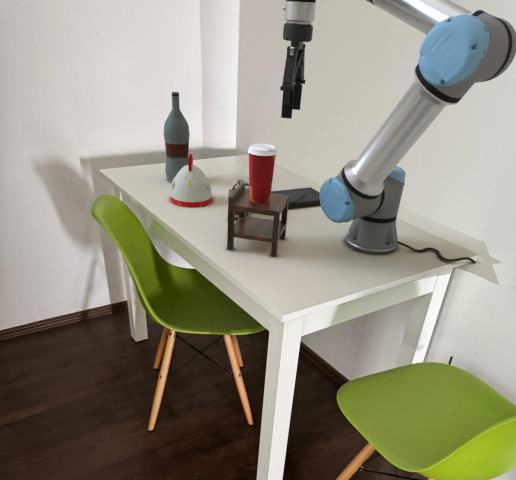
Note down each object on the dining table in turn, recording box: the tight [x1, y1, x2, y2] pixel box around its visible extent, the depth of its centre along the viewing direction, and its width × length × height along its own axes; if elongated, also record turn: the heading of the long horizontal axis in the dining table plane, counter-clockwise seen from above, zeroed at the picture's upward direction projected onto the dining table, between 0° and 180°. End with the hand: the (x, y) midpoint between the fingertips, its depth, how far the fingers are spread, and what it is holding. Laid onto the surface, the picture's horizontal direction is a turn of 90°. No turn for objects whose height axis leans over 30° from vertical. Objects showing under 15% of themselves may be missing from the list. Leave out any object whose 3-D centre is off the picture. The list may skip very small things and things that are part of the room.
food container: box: [227, 178, 249, 221], centre depth 161 cm, size 12×6×10 cm, turn 168°
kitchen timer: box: [170, 153, 213, 208], centre depth 170 cm, size 14×14×15 cm
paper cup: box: [247, 143, 278, 203], centre depth 135 cm, size 8×8×14 cm
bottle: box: [163, 91, 191, 184], centre depth 183 cm, size 9×9×30 cm
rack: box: [226, 182, 289, 258], centre depth 142 cm, size 14×14×15 cm
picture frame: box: [271, 186, 321, 210], centre depth 179 cm, size 13×2×18 cm
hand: (290, 113), depth 140 cm, fingers open, 13 cm apart
